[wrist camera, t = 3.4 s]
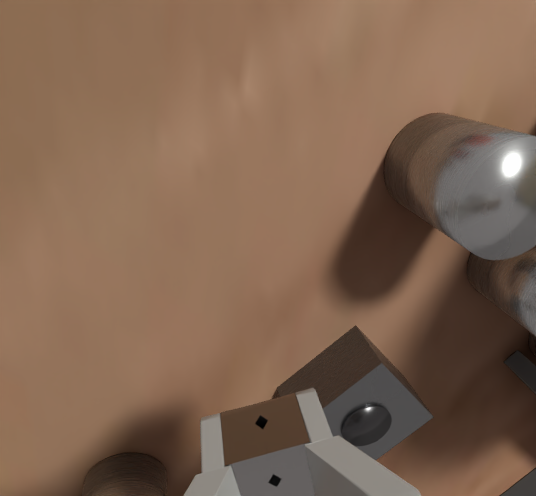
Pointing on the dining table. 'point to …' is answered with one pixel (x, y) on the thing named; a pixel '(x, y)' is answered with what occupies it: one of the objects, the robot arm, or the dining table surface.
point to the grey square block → (361, 394)
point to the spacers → (442, 218)
